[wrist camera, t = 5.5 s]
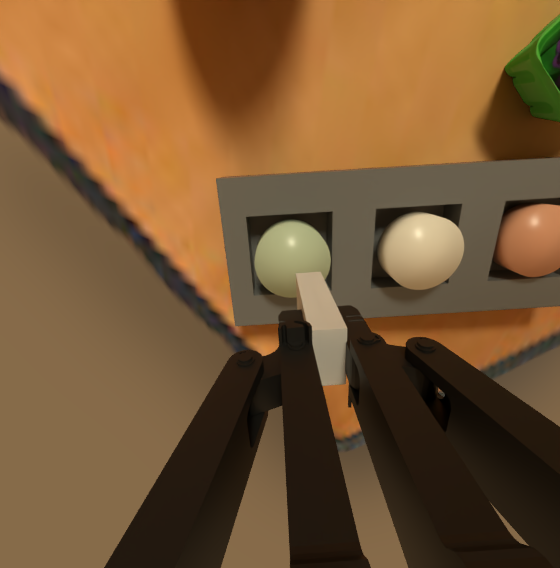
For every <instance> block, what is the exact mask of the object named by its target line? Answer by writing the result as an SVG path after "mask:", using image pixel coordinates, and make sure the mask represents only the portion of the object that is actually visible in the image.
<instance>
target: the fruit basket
mask: <svg viewBox="0 0 560 568" xmlns="http://www.w3.org/2000/svg"><path fill="white" fill-rule="evenodd" d="M505 71H506V73H507V74H508V75H509V76H511V77H513V79H512V80H513V85H514V86H515V88H516V90H517V91H518V93H519V95H520V96H521V98H522V100H523V101H524V103H526V104H527V105H529V106H530V113H531V115H532V116H533V117H537V118H542V119H547V120H552V121H557V122H560V15H558V16H557V17H556V18H555V19H554V20H552V21H551V22H550V23H549V24H548V25H547V26H546V27H545V28H544V29H543V30H542V31H541V32H539V33H538V34H537V35H536V36H535V37H534V38H533V40H532V41H531V43H530V44H529V45H527V46H526V47H525V48H524V49H522V50H521V51H520V52H519V53H518V54H517V55H516V56H515V57H514V58H513V59H512V60H511V61H510V62H509V63H508V64H507V65H506V66H505Z"/></svg>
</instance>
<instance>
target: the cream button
mask: <svg viewBox="0 0 560 568" xmlns="http://www.w3.org/2000/svg"><path fill="white" fill-rule="evenodd" d="M463 253H464V239H463V236H462V233H461V231H460V229H459V228H458V227H457V226H456V225H455V224H454V223H453V222H451V221H450V220H448V219H446V218H442V217H439V216H436V215H432V214H429V213H426V212H410V213H406V214H403V215H401V216H399V217H397V218H396V219H394V220H393V221H392V222H391V223H390V224H389V225H388V226H387V227H386V228H385V229H384V231H383V232H382V234H381V236H380V238H379V241H378V246H377V257H378V261H379V263H380V265H381V267H382V268H383V269H384V271H385V272H386V273H388V274H389V275H390V276H391V277H392V278H393V279H394V280H395V281H396V282H397V283H399V284H400V285H402V286H403V287H406V288H409V289H413V290H424V289H429V288H432V287H435V286H437V285H439V284H441V283H442V282H444V281H445V280H447V279H448V278H449V277H450V276H451V275H452V274H453V273H454V272H455V270H456V269H457V268H458V266H459V264H460V262H461V260H462V257H463Z"/></svg>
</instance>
